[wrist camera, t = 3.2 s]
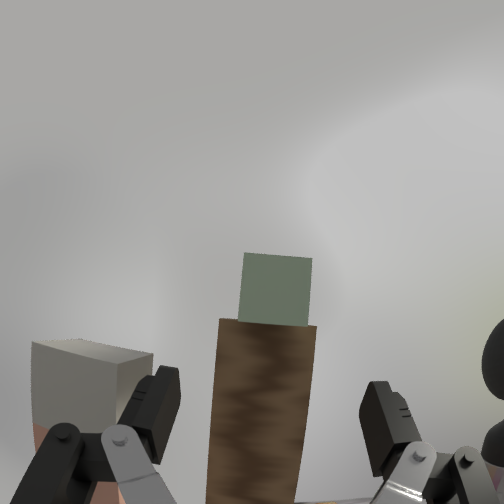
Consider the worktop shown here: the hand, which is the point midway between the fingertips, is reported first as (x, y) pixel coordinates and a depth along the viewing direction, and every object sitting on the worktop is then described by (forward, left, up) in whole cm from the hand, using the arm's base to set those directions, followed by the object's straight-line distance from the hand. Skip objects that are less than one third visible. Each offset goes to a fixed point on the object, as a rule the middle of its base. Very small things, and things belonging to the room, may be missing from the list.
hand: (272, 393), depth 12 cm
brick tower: (+14, -11, -29) cm, 34 cm away
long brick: (0, -16, +3) cm, 16 cm away
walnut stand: (0, -18, -29) cm, 34 cm away
